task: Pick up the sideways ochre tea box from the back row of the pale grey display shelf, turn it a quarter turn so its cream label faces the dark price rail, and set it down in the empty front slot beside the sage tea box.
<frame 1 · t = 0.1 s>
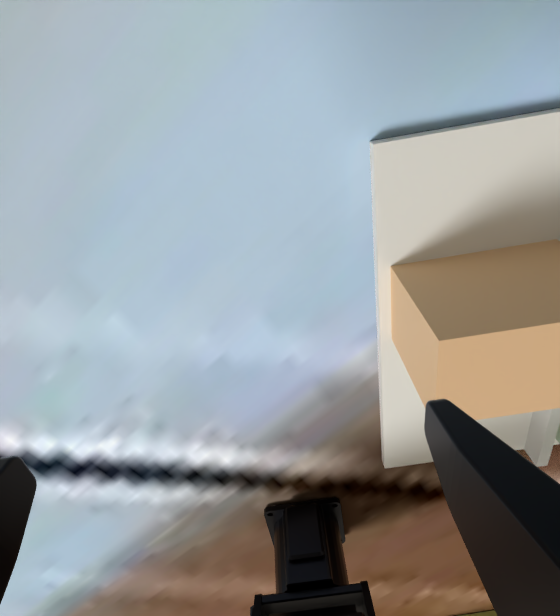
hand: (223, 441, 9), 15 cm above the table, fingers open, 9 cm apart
shelf: (535, 314, 25), on the table
ochre tea box: (468, 292, 23), point 1 cm above the table, touching shelf
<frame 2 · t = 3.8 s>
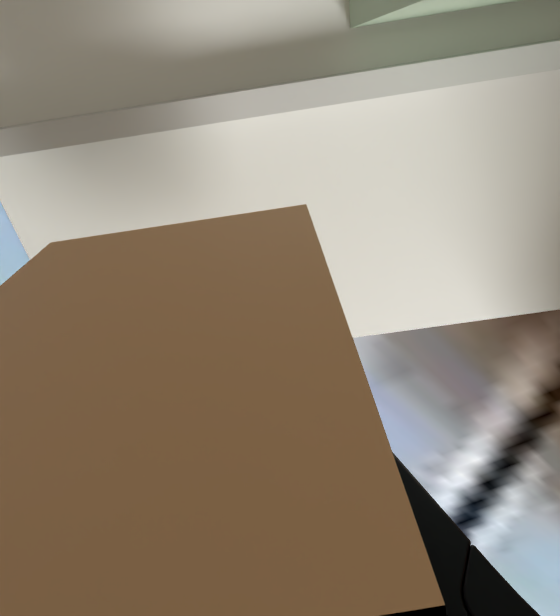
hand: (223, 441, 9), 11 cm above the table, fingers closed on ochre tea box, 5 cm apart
shelf: (297, 123, 16), on the table
ochre tea box: (225, 394, 10), point 9 cm above the table, touching gripper
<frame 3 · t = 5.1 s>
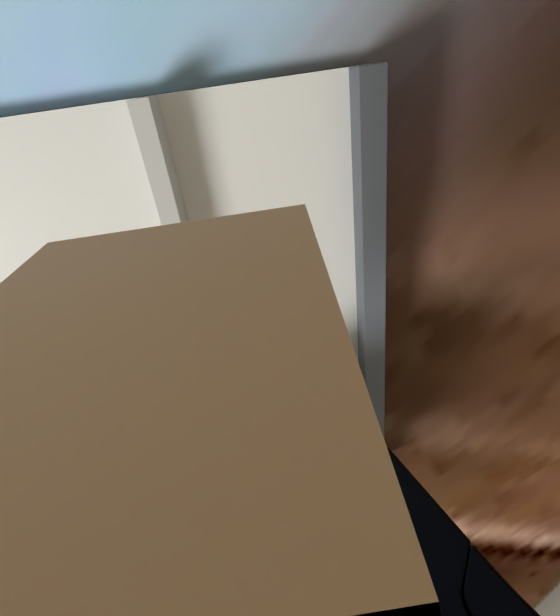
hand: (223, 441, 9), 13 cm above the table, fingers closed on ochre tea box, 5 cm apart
shelf: (193, 339, 23), on the table
ochre tea box: (224, 395, 10), point 11 cm above the table, touching gripper
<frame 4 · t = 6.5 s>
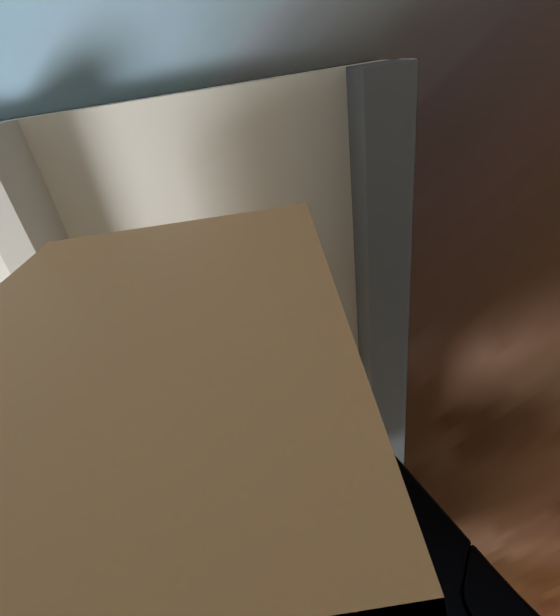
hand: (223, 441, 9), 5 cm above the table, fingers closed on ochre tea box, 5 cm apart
shelf: (134, 448, 16), on the table
ochre tea box: (225, 395, 10), point 4 cm above the table, touching gripper
when the fingers open (4 cm above the table, at t = 7.6 s): ochre tea box drops 1 cm, resting on shelf.
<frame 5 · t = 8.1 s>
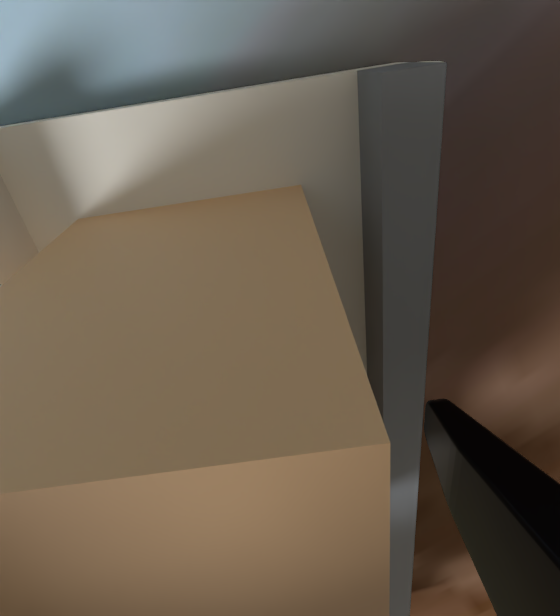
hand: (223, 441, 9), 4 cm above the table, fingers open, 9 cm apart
shelf: (123, 481, 15), on the table
ochre tea box: (229, 360, 11), point 1 cm above the table, touching shelf
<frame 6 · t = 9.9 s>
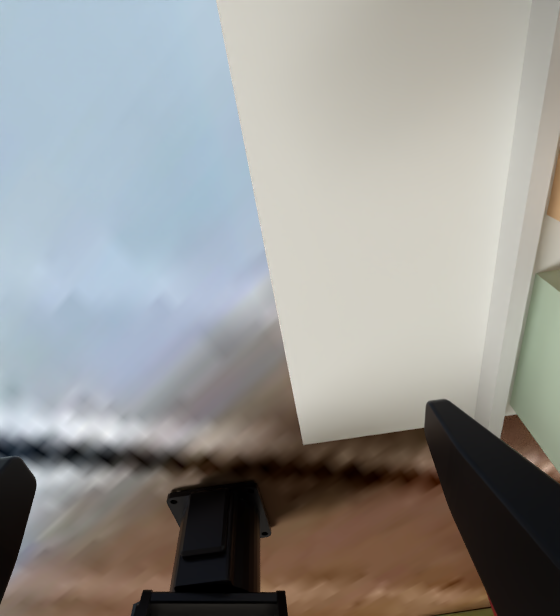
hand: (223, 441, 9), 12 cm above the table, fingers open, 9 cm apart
shelf: (475, 238, 19), on the table
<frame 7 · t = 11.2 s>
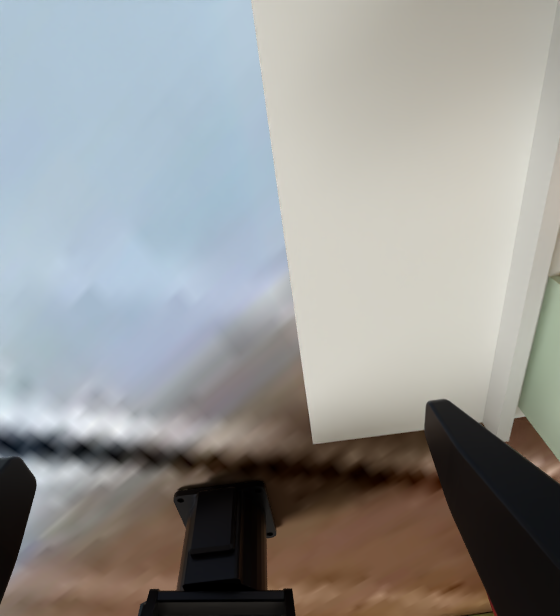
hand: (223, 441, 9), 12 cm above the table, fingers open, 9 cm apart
shelf: (490, 241, 20), on the table
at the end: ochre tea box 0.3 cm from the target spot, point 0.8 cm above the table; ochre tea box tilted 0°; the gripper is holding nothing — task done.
